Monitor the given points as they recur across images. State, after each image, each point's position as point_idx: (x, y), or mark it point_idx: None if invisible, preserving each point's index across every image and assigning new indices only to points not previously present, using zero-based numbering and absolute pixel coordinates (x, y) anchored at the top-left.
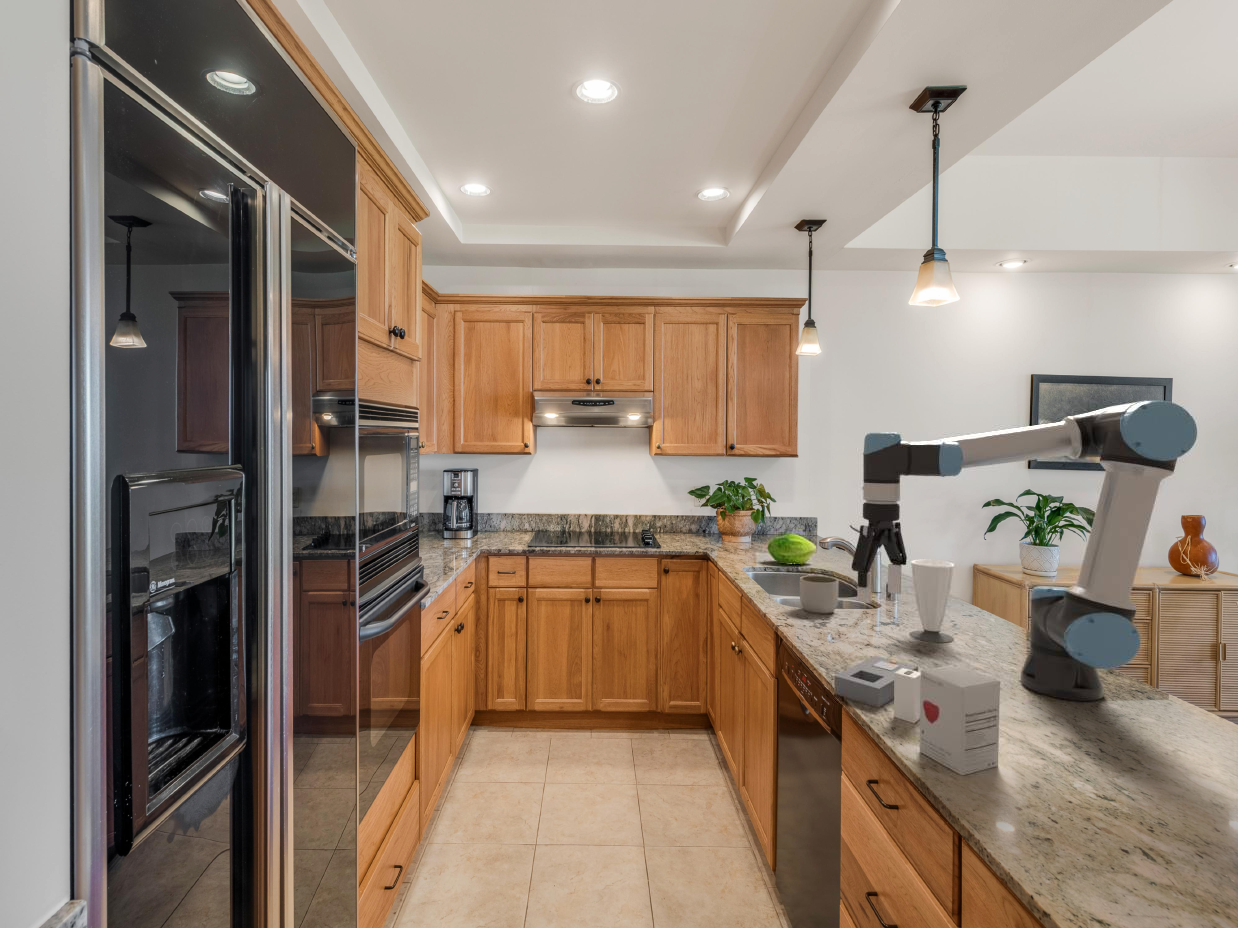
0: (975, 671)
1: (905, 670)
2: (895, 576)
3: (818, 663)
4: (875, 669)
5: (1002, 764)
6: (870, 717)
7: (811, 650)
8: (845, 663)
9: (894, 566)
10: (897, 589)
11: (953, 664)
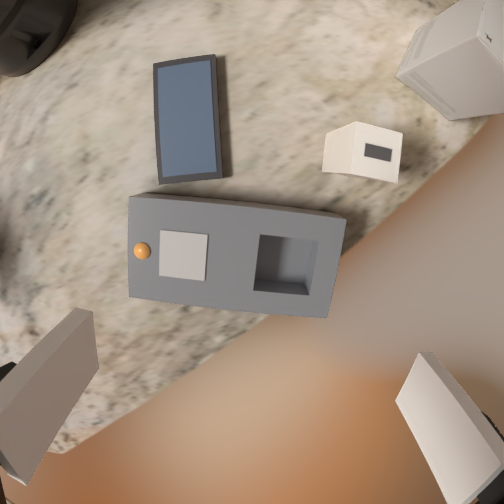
0: (483, 8)
1: (364, 163)
2: (44, 395)
3: (182, 375)
4: (223, 266)
5: (407, 25)
6: (386, 211)
7: (131, 398)
8: (142, 340)
9: (13, 451)
10: (82, 335)
11: (484, 40)
